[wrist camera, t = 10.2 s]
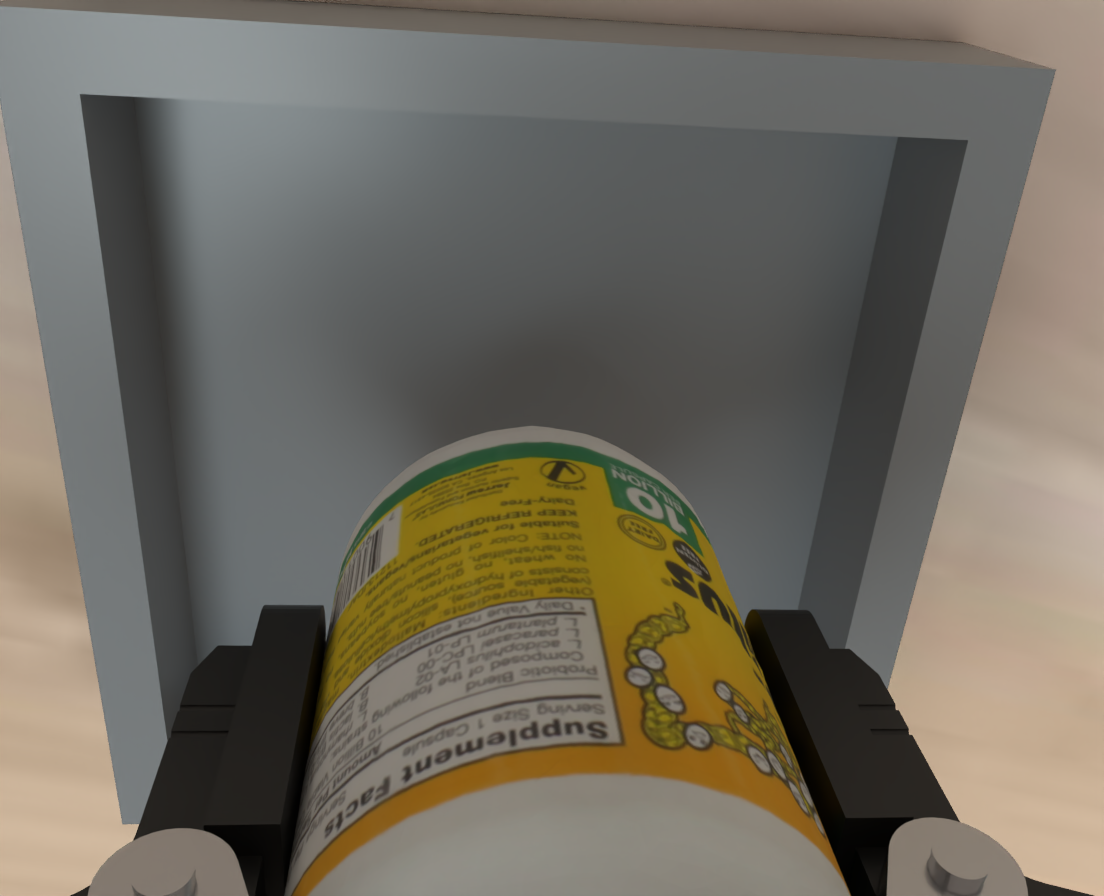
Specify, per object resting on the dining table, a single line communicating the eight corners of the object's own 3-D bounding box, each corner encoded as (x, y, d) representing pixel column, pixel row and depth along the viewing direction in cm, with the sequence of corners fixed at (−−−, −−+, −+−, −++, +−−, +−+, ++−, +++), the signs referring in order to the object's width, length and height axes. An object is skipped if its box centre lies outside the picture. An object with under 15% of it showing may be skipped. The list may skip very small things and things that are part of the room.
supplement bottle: (282, 479, 14) (22, 1333, 6) (663, 364, 14) (986, 1092, 5) (416, 759, 17) (373, 1644, 8) (743, 669, 16) (1048, 1493, 8)
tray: (63, -14, 16) (-17, 5, 13) (962, 42, 17) (1056, 69, 14) (162, 712, 22) (122, 824, 19) (808, 707, 24) (854, 810, 21)
